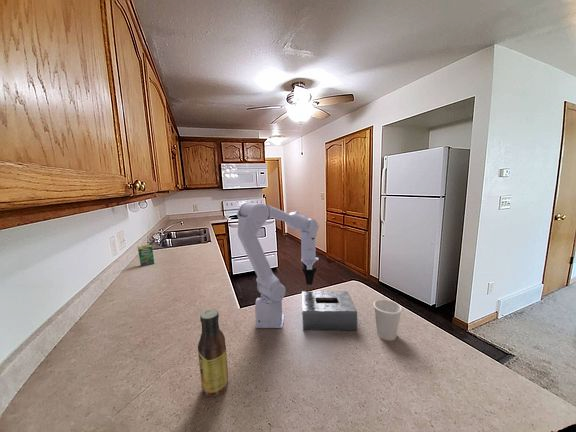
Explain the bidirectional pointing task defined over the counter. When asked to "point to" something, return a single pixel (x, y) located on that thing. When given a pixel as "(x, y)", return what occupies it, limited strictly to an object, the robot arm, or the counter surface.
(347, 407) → the counter surface
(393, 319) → the dixie cup
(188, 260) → the counter surface
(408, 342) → the counter surface
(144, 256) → the coffee box
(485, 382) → the counter surface
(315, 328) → the money box
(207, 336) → the sauce bottle
